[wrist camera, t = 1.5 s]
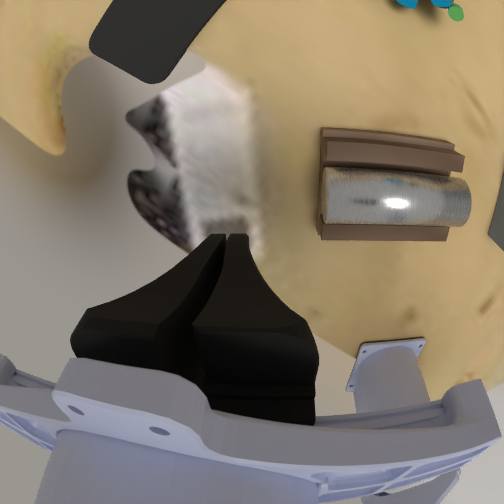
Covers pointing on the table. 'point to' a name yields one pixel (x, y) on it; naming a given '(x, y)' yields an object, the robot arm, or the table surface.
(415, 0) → the gear
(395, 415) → the robot arm
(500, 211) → the v block
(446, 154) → the brown channel tray
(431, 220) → the axle
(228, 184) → the table surface
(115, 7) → the phone
